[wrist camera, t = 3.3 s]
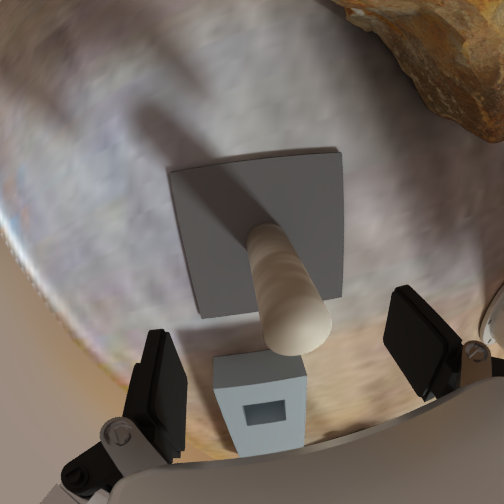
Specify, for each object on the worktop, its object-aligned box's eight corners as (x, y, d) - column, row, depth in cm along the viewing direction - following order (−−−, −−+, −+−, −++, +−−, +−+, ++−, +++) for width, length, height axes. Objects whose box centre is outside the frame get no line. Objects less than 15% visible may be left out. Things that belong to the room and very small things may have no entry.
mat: (339, 152, 19) (341, 152, 18) (340, 294, 24) (341, 296, 23) (170, 172, 18) (169, 173, 18) (201, 316, 23) (201, 318, 23)
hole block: (213, 357, 25) (212, 389, 22) (297, 344, 26) (306, 375, 22) (246, 456, 35) (248, 477, 32) (297, 448, 36) (302, 469, 32)
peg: (285, 219, 20) (333, 296, 11) (288, 257, 21) (330, 348, 12) (243, 225, 20) (260, 308, 11) (248, 263, 21) (266, 360, 12)
